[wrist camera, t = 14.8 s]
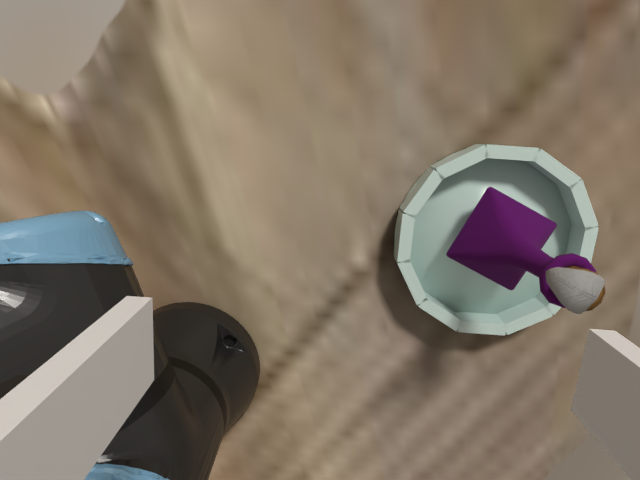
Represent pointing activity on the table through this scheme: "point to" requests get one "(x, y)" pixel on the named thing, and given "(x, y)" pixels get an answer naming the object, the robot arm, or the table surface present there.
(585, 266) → the perfume bottle
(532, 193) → the round tray
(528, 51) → the table surface
